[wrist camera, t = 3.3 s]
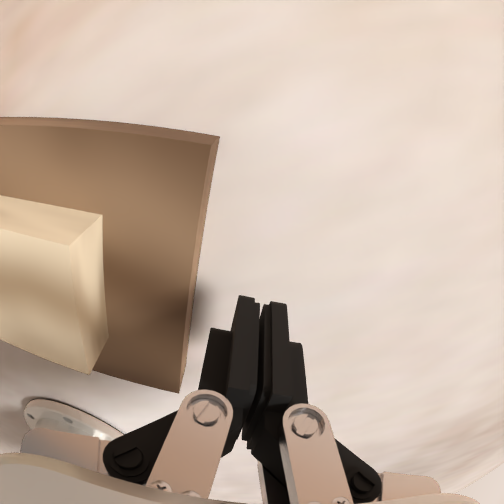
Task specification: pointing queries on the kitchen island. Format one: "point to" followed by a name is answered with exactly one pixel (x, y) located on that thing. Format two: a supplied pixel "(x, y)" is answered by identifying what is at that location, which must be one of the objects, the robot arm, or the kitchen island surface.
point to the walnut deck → (125, 224)
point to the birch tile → (52, 282)
